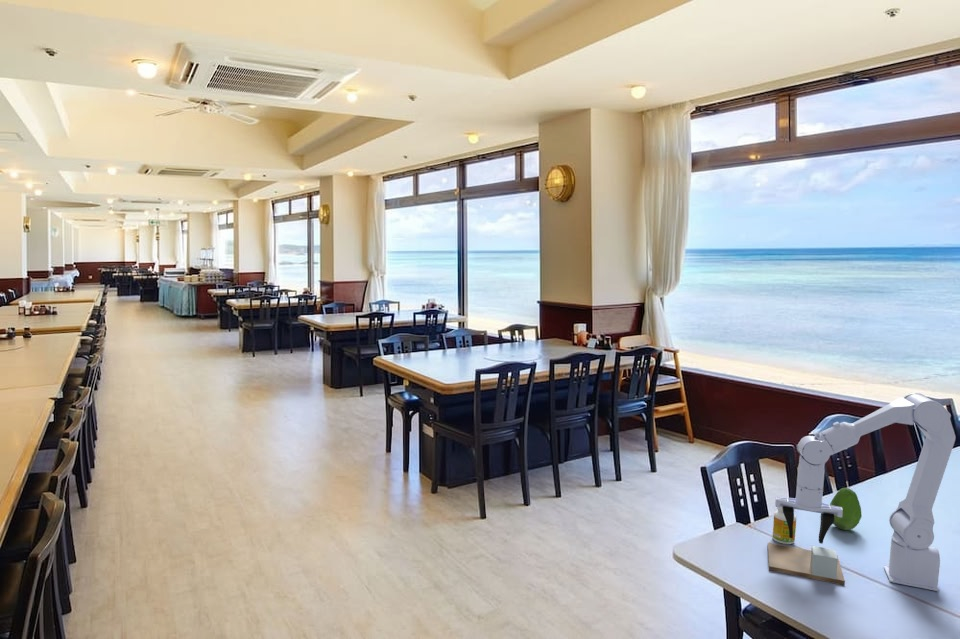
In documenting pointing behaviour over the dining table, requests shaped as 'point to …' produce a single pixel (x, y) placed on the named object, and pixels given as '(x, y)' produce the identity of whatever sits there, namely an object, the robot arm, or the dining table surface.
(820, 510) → the robot arm
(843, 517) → the avocado
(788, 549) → the brown wooden board
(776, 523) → the supplement bottle
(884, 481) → the dining table surface
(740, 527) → the dining table surface
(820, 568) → the pale blue-gray cube
